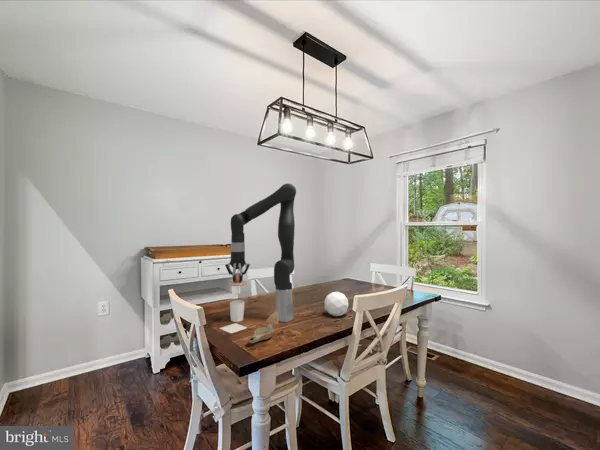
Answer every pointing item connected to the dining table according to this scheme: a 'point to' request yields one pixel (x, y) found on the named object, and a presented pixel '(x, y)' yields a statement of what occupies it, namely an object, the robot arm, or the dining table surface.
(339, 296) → the geodesic sphere
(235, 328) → the mat
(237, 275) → the lid
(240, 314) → the white cup
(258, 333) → the oil lamp
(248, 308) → the dining table surface
